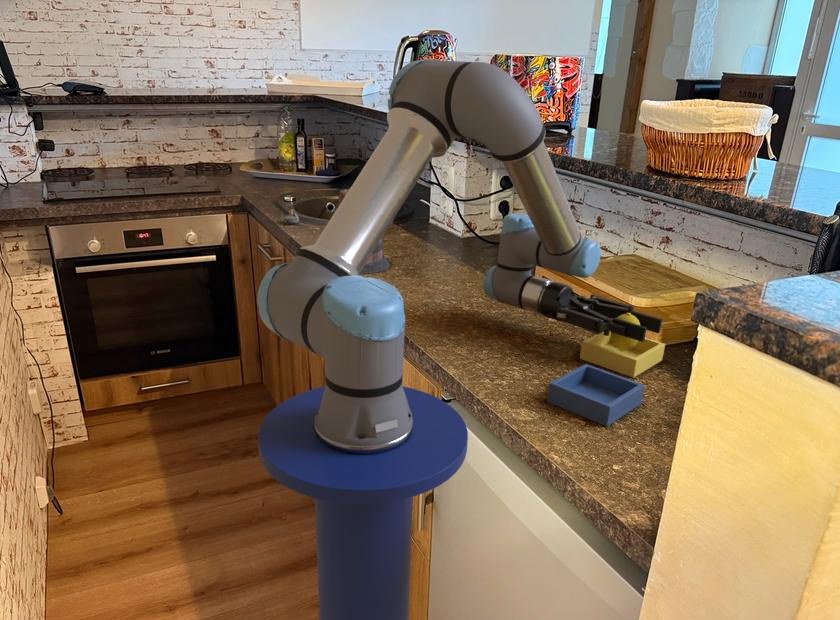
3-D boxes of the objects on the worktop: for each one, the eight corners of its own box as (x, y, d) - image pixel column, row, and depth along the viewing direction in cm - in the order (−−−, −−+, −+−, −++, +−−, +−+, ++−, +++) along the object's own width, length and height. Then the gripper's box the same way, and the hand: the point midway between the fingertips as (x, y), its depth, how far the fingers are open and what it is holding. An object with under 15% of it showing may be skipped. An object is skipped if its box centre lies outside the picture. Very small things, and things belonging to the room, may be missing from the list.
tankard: (393, 273, 180) (394, 197, 172) (329, 274, 178) (327, 197, 169) (383, 249, 201) (384, 180, 193) (326, 250, 199) (324, 180, 190)
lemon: (640, 357, 130) (647, 318, 127) (611, 356, 130) (617, 317, 127) (632, 346, 135) (639, 308, 132) (604, 345, 135) (610, 307, 132)
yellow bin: (579, 358, 133) (581, 341, 132) (609, 343, 141) (612, 327, 140) (633, 377, 126) (636, 360, 125) (662, 360, 134) (665, 343, 132)
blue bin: (546, 401, 116) (549, 382, 115) (582, 381, 124) (585, 363, 123) (606, 426, 109) (610, 407, 108) (641, 403, 117) (645, 385, 115)
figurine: (282, 225, 224) (281, 207, 222) (284, 222, 228) (283, 204, 226) (299, 225, 225) (298, 207, 222) (299, 222, 229) (299, 204, 226)
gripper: (571, 305, 149) (671, 336, 135) (520, 326, 137) (624, 362, 123) (575, 272, 146) (678, 300, 132) (524, 291, 134) (631, 323, 119)
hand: (652, 330), depth 127 cm, fingers closed on lemon, 5 cm apart
